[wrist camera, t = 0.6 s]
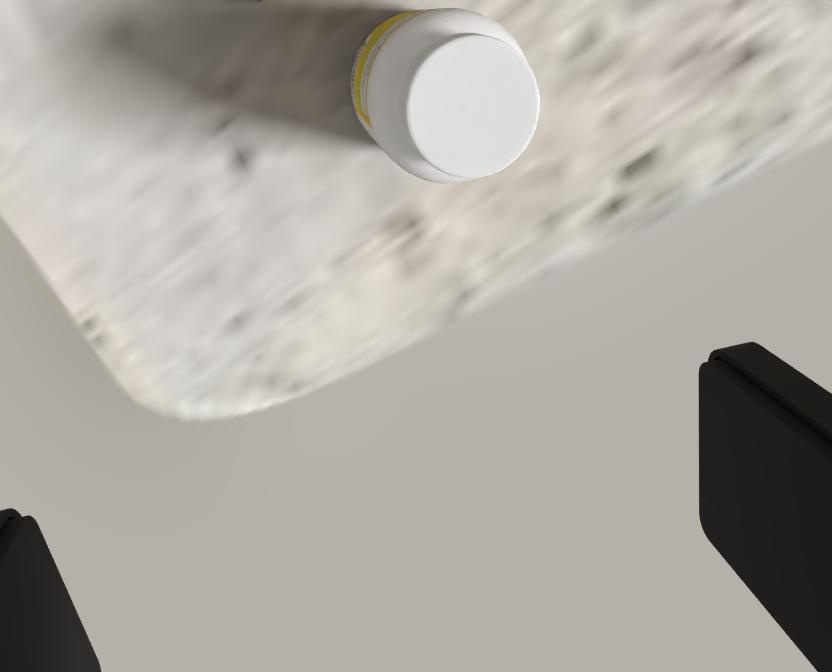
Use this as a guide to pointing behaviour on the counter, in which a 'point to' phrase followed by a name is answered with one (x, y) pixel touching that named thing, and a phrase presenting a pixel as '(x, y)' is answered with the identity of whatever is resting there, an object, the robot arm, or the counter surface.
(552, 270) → the counter surface
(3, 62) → the counter surface
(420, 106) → the supplement bottle
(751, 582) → the robot arm
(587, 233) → the counter surface
